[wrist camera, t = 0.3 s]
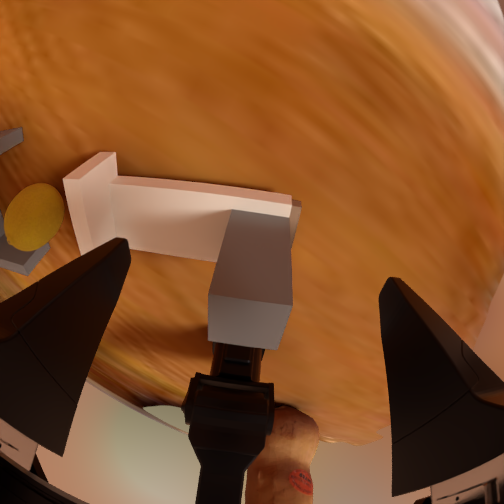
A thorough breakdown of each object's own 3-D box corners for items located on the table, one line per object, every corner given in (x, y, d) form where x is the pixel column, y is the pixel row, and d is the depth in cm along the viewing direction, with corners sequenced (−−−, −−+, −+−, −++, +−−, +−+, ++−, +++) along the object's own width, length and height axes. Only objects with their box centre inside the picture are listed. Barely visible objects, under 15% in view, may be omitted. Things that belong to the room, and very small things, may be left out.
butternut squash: (331, 407, 47) (332, 525, 27) (280, 422, 54) (273, 524, 34) (284, 388, 42) (275, 533, 22) (231, 405, 48) (215, 523, 29)
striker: (273, 276, 25) (268, 373, 17) (115, 252, 25) (68, 329, 17) (296, 170, 19) (308, 256, 11) (100, 151, 19) (19, 215, 11)
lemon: (76, 225, 25) (33, 277, 19) (39, 205, 24) (-7, 250, 17) (82, 181, 22) (28, 231, 15) (42, 161, 20) (-14, 203, 14)
